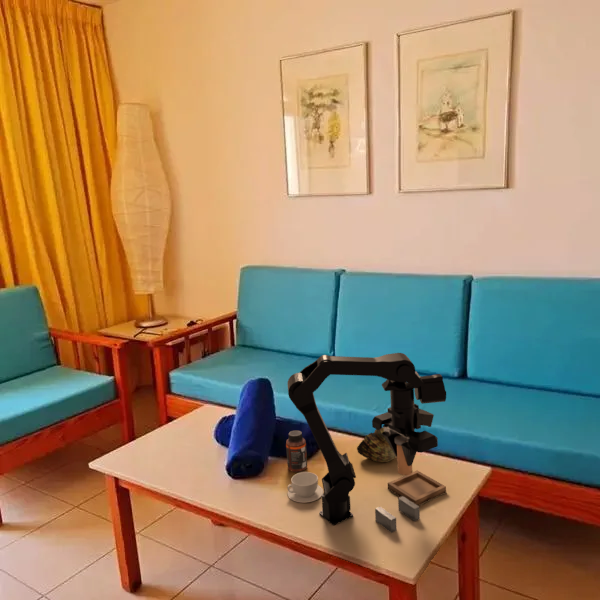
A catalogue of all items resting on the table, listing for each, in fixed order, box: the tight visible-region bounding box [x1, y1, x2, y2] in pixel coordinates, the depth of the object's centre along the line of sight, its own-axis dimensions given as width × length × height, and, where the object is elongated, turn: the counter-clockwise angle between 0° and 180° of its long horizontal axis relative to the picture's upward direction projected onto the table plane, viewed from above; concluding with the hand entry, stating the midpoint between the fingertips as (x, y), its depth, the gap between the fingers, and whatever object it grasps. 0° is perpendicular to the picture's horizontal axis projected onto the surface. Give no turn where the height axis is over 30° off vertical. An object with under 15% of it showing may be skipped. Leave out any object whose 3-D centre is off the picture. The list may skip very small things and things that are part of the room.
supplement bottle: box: [285, 430, 308, 473], centre depth 167 cm, size 6×6×11 cm
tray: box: [387, 469, 447, 507], centre depth 152 cm, size 11×11×2 cm
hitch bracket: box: [374, 496, 421, 534], centre depth 139 cm, size 9×6×4 cm, turn 122°
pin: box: [395, 435, 413, 476], centre depth 141 cm, size 5×5×9 cm
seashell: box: [356, 426, 396, 463], centre depth 170 cm, size 11×11×10 cm
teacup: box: [287, 471, 324, 504], centre depth 154 cm, size 10×10×5 cm
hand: (404, 462), depth 141 cm, fingers closed on pin, 4 cm apart
